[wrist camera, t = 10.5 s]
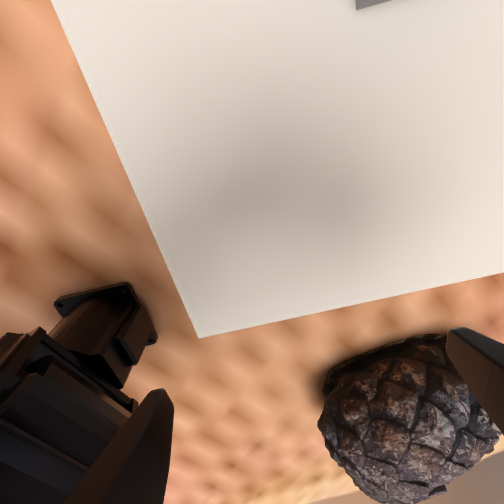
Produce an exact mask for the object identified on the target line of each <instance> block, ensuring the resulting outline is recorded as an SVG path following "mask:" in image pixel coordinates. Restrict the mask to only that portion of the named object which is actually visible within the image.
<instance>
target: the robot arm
mask: <svg viewBox="0 0 504 504" xmlns="http://www.w3.org/2000/svg"><path fill="white" fill-rule="evenodd" d="M123 288H126V290H124V289H123ZM61 303H62V304H61ZM54 306H55V308H56V309H57V311H58V312H59V313H60V315H61V316H62V318H63V319H62V320H61V321H60V322H59V323H58V324H57V325H56V326H55V327H54V329H53V330H52V331H51V332H50V333H49V334H48V335H47V334H46V331H45V330H44V329H42V328H41V327H40V326H39V327H37V328H36V329H34V330H33V331H31V332H30V333H26V334H23V333H22V334H16V333H8V332H7V333H6V334H4V335H3V336H1V337H0V504H163V502H164V496H165V490H166V484H167V478H168V472H169V466H170V456H171V444H172V431H173V419H174V406H173V403H172V401H171V399H170V397H169V396H168V394H167V392H166V391H165V389H163V388H161V389H156V390H152V391H150V392H149V393H148V395H147V396H146V397H145V398H144V400H143V401H142V402H141V403H140V405H139V406H138V404H139V403H138V402H137V401H136V400H135V399H133V398H130V397H128V396H127V395H126V394H124V393H123V392H122V391H120V390H119V389H122V388H123V387H124V384H125V382H126V380H127V378H128V375H129V373H130V371H131V369H132V366H134V365H137V363H138V362H139V359H140V357H141V355H142V352H143V350H144V348H145V346H148V345H152V344H155V343H156V341H157V339H158V336H157V334H156V332H155V330H154V329H153V324H152V322H151V321H150V319H149V317H148V315H147V313H146V311H145V309H144V307H143V305H142V304H140V302H139V300H138V298H137V296H136V294H135V292H134V291H133V289H132V287H131V285H130V284H128V283H119V284H115V285H111V286H107V287H102V288H98V289H94V290H90V291H85V292H81V293H77V294H73V295H68V296H64V297H60V298H58V299H57V300H56V301H55V302H54ZM150 338H152V339H150ZM446 352H447V354H448V356H449V358H450V360H451V361H452V363H453V364H454V366H455V367H456V369H457V370H458V372H459V373H460V375H461V376H462V378H463V379H464V381H465V383H466V384H467V386H468V387H469V389H470V390H471V392H472V393H473V395H474V396H475V398H476V399H477V401H478V402H479V404H480V405H481V407H482V408H483V409H484V411H485V412H486V413H487V414H488V416H489V417H490V418H491V420H492V421H493V422H494V423H495V425H496V426H497V427H498V428H499V430H500V431H501V432H502V434H503V435H504V344H502V343H500V342H498V341H496V340H493V339H491V338H489V337H487V336H484V335H482V334H480V333H477V332H475V331H473V330H471V329H468V328H466V327H458V328H453V329H450V330H449V331H448V334H447V343H446Z"/></svg>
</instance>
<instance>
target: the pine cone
mask: <svg viewBox="0 0 504 504" xmlns="http://www.w3.org/2000/svg"><path fill="white" fill-rule="evenodd" d="M401 341H402V342H401ZM401 341H397V342H394V343H391V344H388V345H385V346H383V347H380V348H378V349H375V350H373V351H371V352H368V353H366V354H363V355H360V356H357V357H354V358H352V359H350V360H347V361H345V362H343V363H341V364H339V365H338V366H336V367H334V368H332V369H331V370H330V371H328V373H327V377H326V380H325V384H324V387H323V394H324V396H325V399H326V401H325V403H324V409H323V412H322V414H321V416H320V418H319V420H318V424H317V426H318V428H319V430H320V431H321V432H322V435H323V437H324V439H325V446H326V448H327V449H328V450H329V452H330V456H331V458H332V459H334V460H335V461H336V462H338V466H340V467H344V469H345V471H346V473H347V474H348V475H349V476H350V477H351V478H352V479H353V482H354V484H355V486H358V487H359V489H360V490H361V491H363V492H364V493H365V494H366V495H367V496H369V497H370V498H372V499H374V500H375V501H377V502H379V503H383V504H385V503H389V504H416V503H418V502H420V501H424V500H426V499H429V498H431V497H433V496H435V495H440V494H444V493H445V492H446V491H447V490H446V487H445V484H449V483H450V482H451V481H453V480H454V479H455V478H457V477H458V476H460V475H461V474H463V473H464V472H466V471H467V470H469V469H470V468H472V467H473V466H474V464H476V463H478V462H479V461H480V460H481V458H482V457H483V456H484V454H485V453H486V454H490V453H491V452H492V451H494V445H495V444H496V443H497V442H498V440H499V437H498V436H500V435H501V434H502V432H501V431H500V430H499V428H498V427H497V426H496V425H495V423H494V422H493V421H492V420H491V418H490V417H489V416H488V414H487V413H486V412H485V411H484V409H483V408H482V407H481V405H480V404H479V402H478V401H477V399H476V398H475V396H474V395H473V393H472V392H471V390H470V389H469V387H468V386H467V384H466V383H465V381H464V379H463V378H462V376H461V375H460V373H459V372H458V370H457V369H456V367H455V366H454V364H453V363H452V361H451V360H450V358H449V356H448V354H447V352H446V343H447V335H438V334H427V335H421V336H416V337H412V338H407V339H406V340H405V339H404V341H403V340H401Z"/></svg>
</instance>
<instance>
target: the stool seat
mask: <svg viewBox="0 0 504 504" xmlns="http://www.w3.org/2000/svg"><path fill="white" fill-rule="evenodd" d="M51 2H52V4H53V7H54V9H55V11H56V13H57V16H58V18H59V20H60V23H61V25H62V27H63V29H64V32H65V34H66V36H67V39H68V41H69V43H70V45H71V48H72V50H73V52H74V55H75V57H76V59H77V61H78V64H79V66H80V68H81V71H82V73H83V75H84V77H85V80H86V82H87V84H88V87H89V89H90V91H91V94H92V96H93V98H94V100H95V103H96V105H97V107H98V110H99V112H100V114H101V116H102V119H103V121H104V123H105V126H106V128H107V130H108V132H109V135H110V137H111V139H112V142H113V144H114V146H115V148H116V151H117V153H118V155H119V158H120V160H121V162H122V164H123V167H124V169H125V171H126V174H127V176H128V178H129V180H130V183H131V185H132V187H133V190H134V192H135V194H136V196H137V199H138V201H139V203H140V206H141V208H142V210H143V212H144V215H145V217H146V219H147V222H148V224H149V226H150V228H151V231H152V233H153V235H154V238H155V240H156V242H157V244H158V247H159V249H160V251H161V254H162V256H163V258H164V260H165V263H166V265H167V267H168V270H169V272H170V274H171V276H172V279H173V281H174V283H175V286H176V288H177V290H178V292H179V295H180V297H181V299H182V302H183V304H184V306H185V309H186V311H187V313H188V315H189V318H190V320H191V322H192V325H193V327H194V329H195V331H196V334H197V336H198V338H203V337H208V336H213V335H217V334H222V333H226V332H231V331H236V330H240V329H245V328H249V327H254V326H259V325H263V324H268V323H273V322H277V321H282V320H286V319H291V318H296V317H300V316H305V315H309V314H314V313H319V312H323V311H328V310H332V309H337V308H342V307H346V306H351V305H355V304H360V303H365V302H369V301H374V300H378V299H383V298H388V297H392V296H397V295H401V294H406V293H411V292H415V291H420V290H424V289H429V288H434V287H438V286H443V285H447V284H452V283H457V282H461V281H466V280H470V279H475V278H480V277H484V276H489V275H493V274H498V273H503V272H504V0H51Z"/></svg>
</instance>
